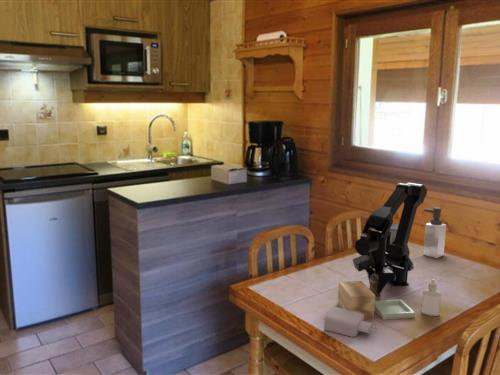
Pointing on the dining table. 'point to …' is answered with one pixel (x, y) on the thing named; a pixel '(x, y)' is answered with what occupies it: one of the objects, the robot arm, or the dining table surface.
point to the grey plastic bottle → (346, 322)
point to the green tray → (393, 309)
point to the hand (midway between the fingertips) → (375, 290)
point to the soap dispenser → (434, 235)
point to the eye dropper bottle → (431, 300)
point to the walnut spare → (373, 285)
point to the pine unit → (356, 298)
